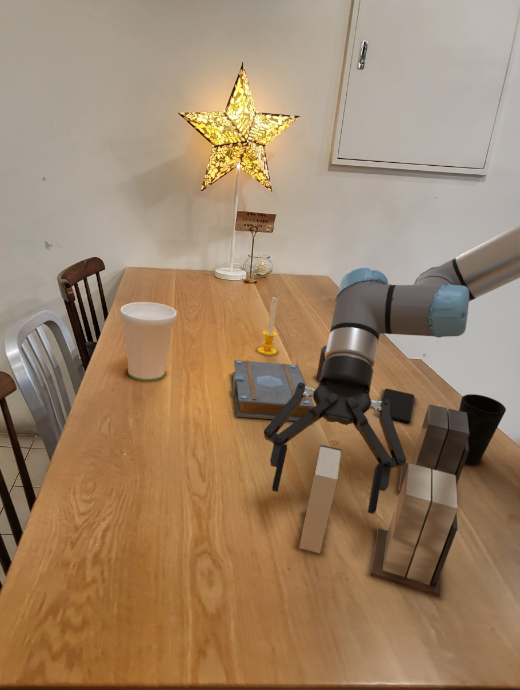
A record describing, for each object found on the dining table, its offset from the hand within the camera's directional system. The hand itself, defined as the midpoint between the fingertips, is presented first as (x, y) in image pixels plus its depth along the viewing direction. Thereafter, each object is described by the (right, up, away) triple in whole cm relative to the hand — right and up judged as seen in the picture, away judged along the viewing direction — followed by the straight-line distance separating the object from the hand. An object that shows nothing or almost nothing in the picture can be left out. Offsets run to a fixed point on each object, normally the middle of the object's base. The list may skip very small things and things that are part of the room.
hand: (322, 500), depth 76 cm
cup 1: (-32, +20, +50) cm, 62 cm away
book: (-3, +14, +45) cm, 47 cm away
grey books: (+22, -1, +19) cm, 29 cm away
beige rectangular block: (-1, -6, +5) cm, 8 cm away
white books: (+12, -9, +1) cm, 15 cm away
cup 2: (+33, +3, +29) cm, 45 cm away
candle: (-2, +27, +70) cm, 75 cm away
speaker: (+13, +19, +56) cm, 61 cm away
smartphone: (+26, +12, +47) cm, 55 cm away
